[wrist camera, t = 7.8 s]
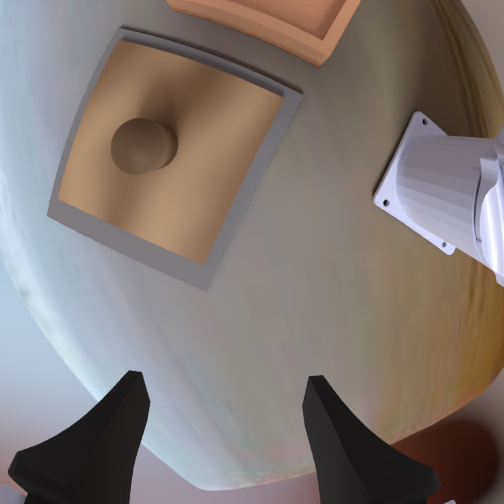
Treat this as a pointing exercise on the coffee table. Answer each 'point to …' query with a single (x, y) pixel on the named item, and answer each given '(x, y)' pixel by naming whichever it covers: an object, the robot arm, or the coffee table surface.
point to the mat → (204, 273)
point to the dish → (280, 22)
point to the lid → (166, 147)
